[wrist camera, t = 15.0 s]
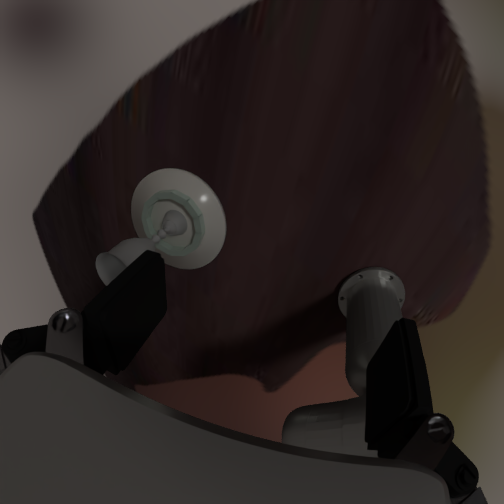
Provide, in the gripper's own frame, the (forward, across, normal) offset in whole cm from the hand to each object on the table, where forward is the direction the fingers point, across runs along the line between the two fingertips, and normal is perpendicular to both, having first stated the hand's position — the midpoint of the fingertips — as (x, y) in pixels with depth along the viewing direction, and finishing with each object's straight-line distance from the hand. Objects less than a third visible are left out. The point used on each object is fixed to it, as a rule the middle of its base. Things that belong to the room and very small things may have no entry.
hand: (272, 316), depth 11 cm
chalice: (+34, +22, +16) cm, 43 cm away
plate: (+34, +22, +16) cm, 44 cm away
